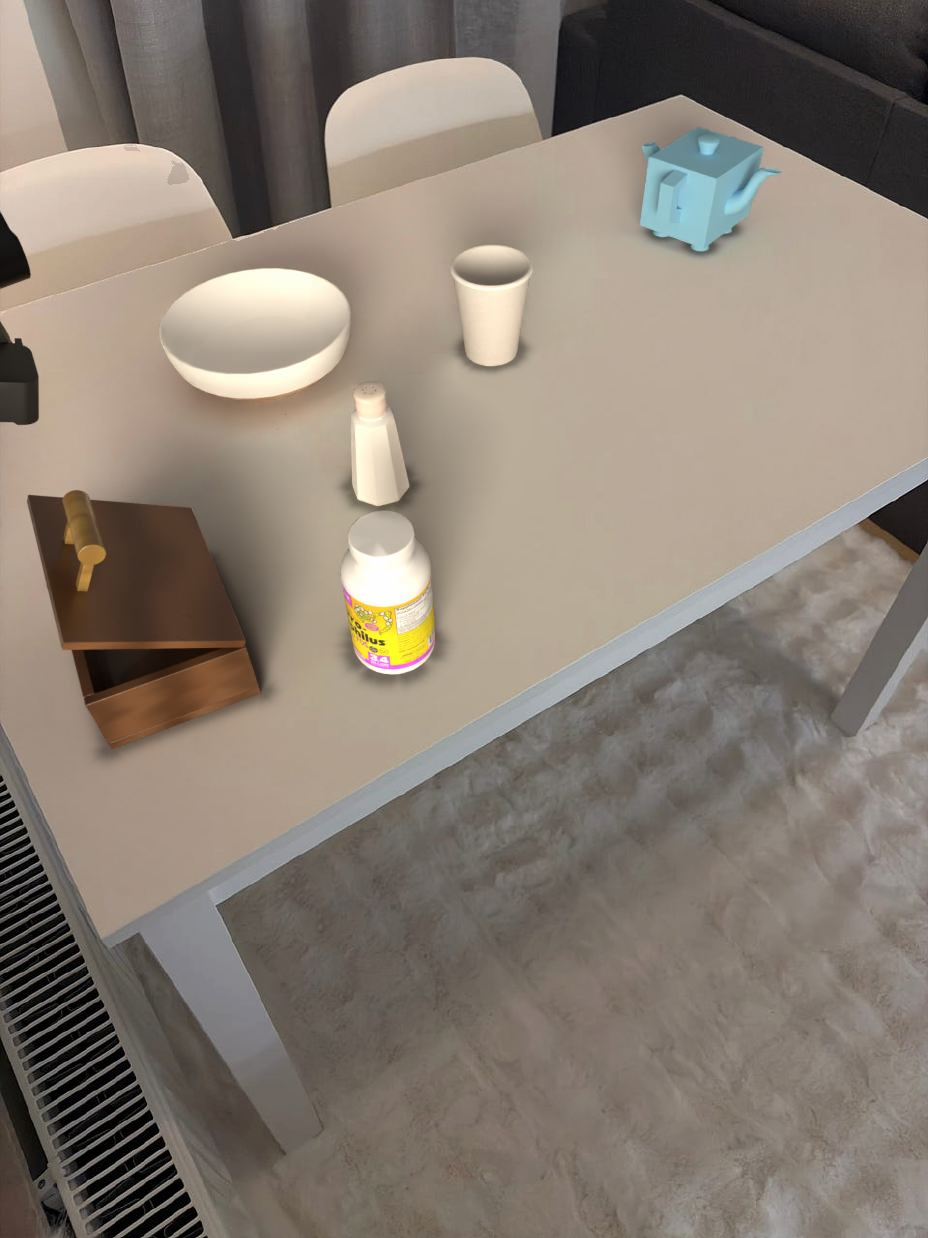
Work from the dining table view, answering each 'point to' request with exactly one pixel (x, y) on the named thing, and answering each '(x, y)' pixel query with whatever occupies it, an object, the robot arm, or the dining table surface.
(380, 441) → the salt shaker
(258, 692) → the chest
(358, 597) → the supplement bottle
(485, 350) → the dixie cup
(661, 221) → the teapot
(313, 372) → the bowl
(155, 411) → the dining table surface
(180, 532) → the lid
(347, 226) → the dining table surface
